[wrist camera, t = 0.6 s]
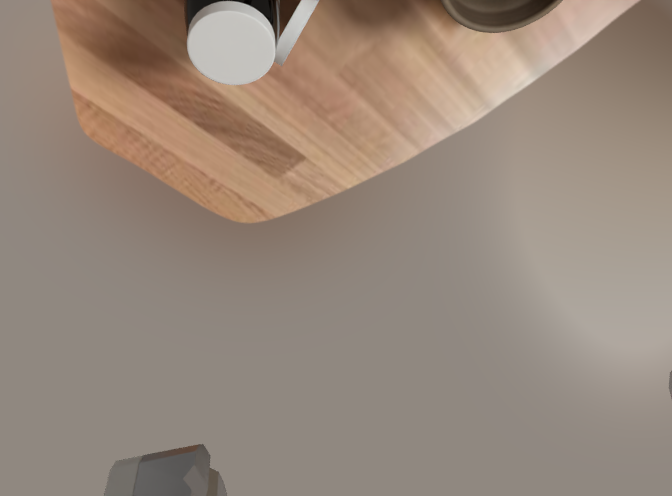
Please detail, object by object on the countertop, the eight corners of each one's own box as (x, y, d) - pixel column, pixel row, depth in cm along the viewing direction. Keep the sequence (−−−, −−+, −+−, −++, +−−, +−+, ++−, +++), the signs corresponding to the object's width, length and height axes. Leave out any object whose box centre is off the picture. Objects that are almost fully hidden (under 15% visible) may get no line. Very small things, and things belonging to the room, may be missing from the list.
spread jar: (183, -91, 51) (172, -11, 44) (321, -86, 52) (331, -8, 45) (199, 37, 61) (191, 118, 54) (315, 38, 62) (322, 119, 55)
